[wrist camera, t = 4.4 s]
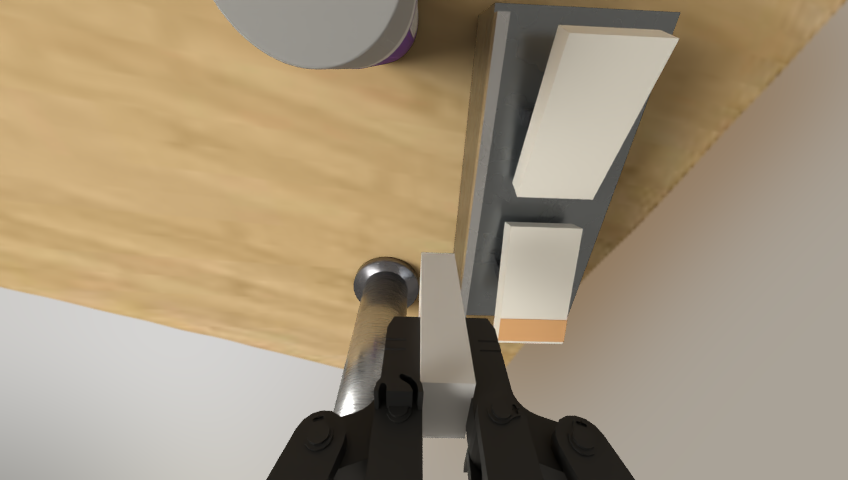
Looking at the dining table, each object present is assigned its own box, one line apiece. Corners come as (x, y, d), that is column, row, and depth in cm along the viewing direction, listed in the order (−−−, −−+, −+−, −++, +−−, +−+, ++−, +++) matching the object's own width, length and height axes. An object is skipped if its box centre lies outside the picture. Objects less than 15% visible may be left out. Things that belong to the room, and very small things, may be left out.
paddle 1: (504, 221, 20) (511, 226, 19) (571, 223, 20) (583, 229, 19) (492, 331, 22) (498, 343, 21) (553, 332, 22) (563, 344, 21)
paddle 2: (558, 24, 13) (569, 32, 12) (660, 30, 13) (679, 38, 12) (512, 182, 19) (517, 196, 18) (583, 185, 19) (592, 199, 18)
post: (352, 255, 28) (294, 427, 15) (419, 257, 28) (418, 428, 15) (357, 306, 31) (312, 485, 18) (417, 307, 31) (415, 485, 18)
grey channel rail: (478, 15, 19) (501, -2, 14) (622, 22, 19) (699, 9, 14) (451, 276, 29) (457, 325, 24) (545, 279, 29) (573, 328, 24)
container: (352, 68, 21) (237, 89, 8) (332, -23, 18) (115, -218, 5) (423, 57, 20) (427, 59, 7) (412, -37, 18) (390, -279, 5)
